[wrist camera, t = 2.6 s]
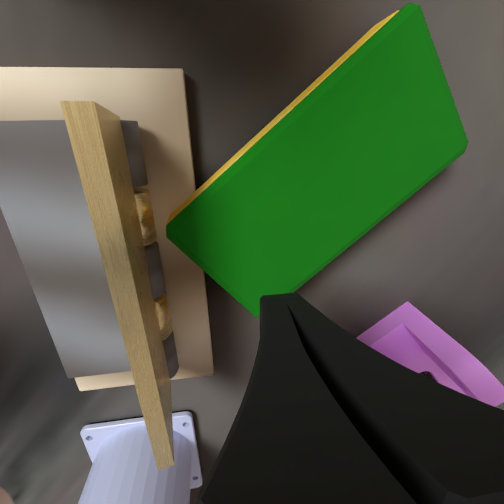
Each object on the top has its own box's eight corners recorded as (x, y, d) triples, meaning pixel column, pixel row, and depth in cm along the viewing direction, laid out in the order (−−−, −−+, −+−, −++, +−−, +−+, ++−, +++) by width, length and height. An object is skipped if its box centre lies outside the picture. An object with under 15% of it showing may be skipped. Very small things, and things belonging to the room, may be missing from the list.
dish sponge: (432, 146, 15) (473, 147, 13) (251, 298, 17) (259, 322, 15) (379, 20, 12) (419, -6, 10) (165, 218, 14) (159, 232, 12)
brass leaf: (20, 100, 6) (119, 101, 6) (89, 120, 12) (138, 120, 12) (139, 477, 11) (187, 460, 12) (146, 363, 17) (178, 355, 18)
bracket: (344, 343, 21) (404, 435, 14) (406, 300, 20) (498, 376, 13) (413, 417, 25) (480, 510, 19) (465, 385, 25) (553, 471, 18)
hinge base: (-28, 71, 11) (-102, 50, 9) (183, 72, 12) (176, 54, 10) (84, 381, 18) (63, 421, 16) (213, 365, 19) (213, 401, 17)
